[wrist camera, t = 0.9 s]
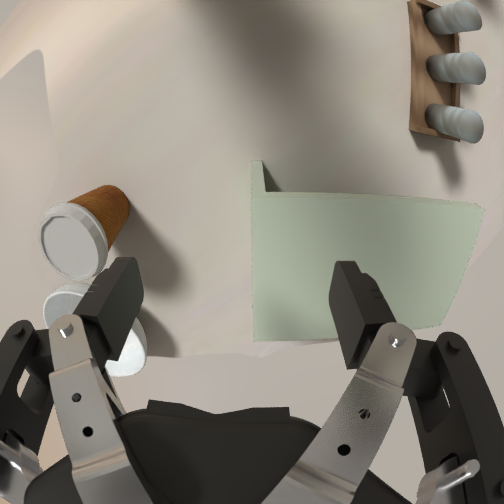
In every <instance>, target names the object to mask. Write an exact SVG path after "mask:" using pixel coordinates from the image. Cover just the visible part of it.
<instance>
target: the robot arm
mask: <svg viewBox="0 0 504 504" xmlns="http://www.w3.org/2000/svg"><path fill="white" fill-rule="evenodd" d="M143 297H144V290H143V285H142V281H141V277H140V273H139V269H138V264H137V261H136V259H135V258H134V257H117V258H116V259H115V260H114V262H113V263H112V265H111V266H110V268H109V269H105V270H104V271H102V272H101V273H100V274H99V275H97V277H96V278H95V280H94V281H93V283H92V285H90V287H89V288H88V290H87V292H86V293H85V294H84V296H83V298H82V299H81V301H80V302H79V304H78V305H77V307H76V308H75V310H74V312H73V313H72V314H67V315H63V316H61V317H59V318H58V319H56V320H55V321H54V322H53V323H52V325H51V326H50V329H43V330H35V329H34V327H33V325H32V324H31V322H30V321H28V320H21V321H18V322H16V323H14V324H13V325H12V326H11V327H10V328H9V329H8V330H7V332H6V334H5V335H4V337H3V339H2V340H1V342H0V497H1V498H3V499H5V500H6V501H8V502H10V503H11V504H412V503H411V502H410V501H408V500H407V499H405V498H404V497H403V496H401V495H400V494H399V493H397V492H396V491H395V490H394V489H392V488H391V487H390V486H389V485H387V484H386V483H385V482H384V481H382V480H381V479H380V478H379V477H377V476H376V475H375V474H374V473H372V472H371V471H370V470H369V469H368V468H369V467H370V465H371V463H372V461H373V459H374V457H375V455H376V453H377V452H378V450H379V447H380V445H381V444H382V442H383V439H384V437H385V435H386V433H387V431H388V428H389V427H390V424H391V422H392V419H393V418H394V415H395V413H396V410H397V408H398V406H399V403H400V400H401V398H402V395H403V396H408V400H409V403H410V407H411V411H412V414H413V418H414V422H415V426H416V430H417V434H418V438H419V443H420V447H421V452H422V457H423V461H424V467H425V471H426V475H425V476H424V477H423V478H422V480H421V481H420V484H419V488H418V492H417V498H418V499H417V502H416V504H504V427H503V424H502V421H501V418H500V415H499V413H498V410H497V407H496V405H495V402H494V400H493V398H492V395H491V393H490V390H489V388H488V386H487V384H486V381H485V379H484V377H483V375H482V372H481V370H480V368H479V366H478V364H477V362H476V360H475V358H474V356H473V354H472V352H471V350H470V348H469V346H468V344H467V342H466V341H465V340H464V339H463V338H462V337H461V336H460V335H458V334H456V333H453V332H443V333H441V334H440V335H439V336H438V338H437V340H436V342H433V341H428V340H421V339H416V336H415V334H414V333H413V331H412V330H411V329H409V328H408V327H407V326H405V325H403V324H400V323H397V321H396V319H395V317H394V315H393V313H392V311H391V309H390V307H389V305H388V303H387V301H386V299H385V298H384V295H383V294H382V292H381V291H380V288H379V286H378V284H377V282H376V281H375V280H374V279H373V278H372V277H371V276H370V275H368V274H367V273H361V271H360V269H359V267H358V265H357V263H356V262H355V261H336V263H335V266H334V270H333V275H332V280H331V285H330V290H329V307H330V310H331V314H332V317H333V320H334V324H335V327H336V331H337V334H338V338H339V341H340V345H341V349H342V352H343V356H344V360H345V363H346V367H347V370H348V369H357V372H356V373H355V375H354V377H353V379H352V380H351V382H350V384H349V386H348V387H347V389H346V391H345V392H344V394H343V396H342V397H341V399H340V401H339V402H338V404H337V405H336V407H335V409H334V410H333V412H332V413H331V415H330V416H329V418H328V419H327V421H326V422H325V424H324V425H323V427H322V428H320V427H318V426H317V425H315V424H313V423H311V422H308V421H306V420H304V419H300V418H297V417H292V416H290V413H289V407H273V408H272V407H270V408H249V409H244V410H240V411H234V412H228V413H223V414H212V413H209V412H206V411H202V410H199V409H196V408H193V407H190V406H186V405H184V404H180V403H172V402H163V401H156V400H149V402H148V405H147V409H140V410H135V411H132V412H129V413H126V411H125V409H124V408H123V406H122V404H121V402H120V399H119V397H118V395H117V392H116V390H115V388H114V386H113V383H112V380H111V378H110V375H109V373H108V370H107V368H106V366H105V365H106V362H107V360H112V361H118V360H119V358H120V355H121V352H122V350H123V347H124V345H125V342H126V340H127V337H128V335H129V333H130V330H131V328H132V325H133V323H134V321H135V318H136V316H137V314H138V311H139V309H140V307H141V304H142V302H143ZM24 369H26V370H27V372H28V373H29V374H30V376H29V378H28V381H27V383H26V386H25V388H24V390H23V392H22V395H21V397H20V398H19V396H18V393H17V384H18V382H19V380H20V378H21V376H22V373H23V371H24ZM443 389H444V390H445V393H446V395H447V398H448V401H449V404H450V408H449V405H448V402H447V400H446V397H445V394H444V391H443ZM53 404H55V409H56V413H57V417H58V420H59V424H60V427H61V431H62V434H63V438H64V441H65V444H66V448H67V451H68V453H69V454H68V455H67V456H65V457H64V458H62V459H61V460H60V461H58V462H57V463H55V464H54V465H53V466H51V467H50V468H48V469H47V470H45V471H44V472H43V470H42V468H41V467H40V466H39V460H38V458H37V456H38V452H39V449H40V445H41V441H42V438H43V434H44V431H45V428H46V425H47V422H48V418H49V416H50V413H51V410H52V407H53Z"/></svg>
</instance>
